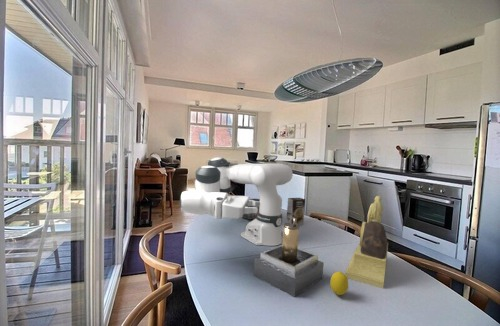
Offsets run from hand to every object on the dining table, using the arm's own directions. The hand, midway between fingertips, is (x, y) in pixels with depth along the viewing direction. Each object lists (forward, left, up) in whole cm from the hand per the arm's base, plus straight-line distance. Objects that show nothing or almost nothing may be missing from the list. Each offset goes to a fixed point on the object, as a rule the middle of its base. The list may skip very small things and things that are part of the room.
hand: (258, 207), depth 94 cm
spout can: (+9, +8, -19) cm, 22 cm away
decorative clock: (+27, +39, -26) cm, 54 cm away
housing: (+9, +8, -25) cm, 28 cm away
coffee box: (-27, +65, -25) cm, 74 cm away
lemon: (+27, +11, -25) cm, 39 cm away
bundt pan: (-53, +56, -26) cm, 81 cm away
